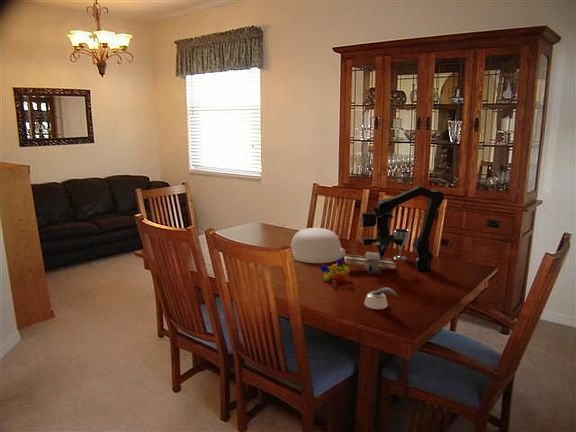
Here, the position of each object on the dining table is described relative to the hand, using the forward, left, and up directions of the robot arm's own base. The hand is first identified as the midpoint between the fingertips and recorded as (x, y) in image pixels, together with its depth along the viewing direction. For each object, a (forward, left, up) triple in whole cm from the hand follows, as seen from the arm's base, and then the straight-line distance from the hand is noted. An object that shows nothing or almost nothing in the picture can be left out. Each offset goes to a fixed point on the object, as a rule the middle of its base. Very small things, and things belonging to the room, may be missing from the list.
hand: (381, 258), depth 222 cm
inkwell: (+8, +46, -6) cm, 47 cm away
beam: (+6, 0, -3) cm, 7 cm away
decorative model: (+24, +14, -6) cm, 28 cm away
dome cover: (+30, -26, -7) cm, 40 cm away
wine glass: (-14, -20, -6) cm, 25 cm away
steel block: (+5, 0, -1) cm, 5 cm away
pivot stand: (+4, 0, -6) cm, 7 cm away
